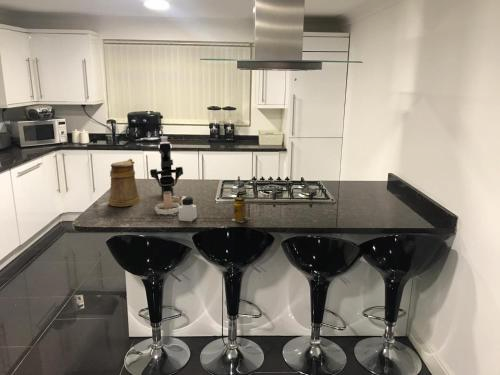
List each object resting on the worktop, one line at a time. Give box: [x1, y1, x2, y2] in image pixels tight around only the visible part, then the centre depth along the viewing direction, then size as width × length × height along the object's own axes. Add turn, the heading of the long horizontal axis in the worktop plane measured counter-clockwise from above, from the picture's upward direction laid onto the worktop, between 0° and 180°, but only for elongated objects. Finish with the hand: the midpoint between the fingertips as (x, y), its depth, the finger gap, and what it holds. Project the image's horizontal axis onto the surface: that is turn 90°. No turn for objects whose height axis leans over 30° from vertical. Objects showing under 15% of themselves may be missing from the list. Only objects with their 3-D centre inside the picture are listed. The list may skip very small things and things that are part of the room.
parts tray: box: [171, 195, 183, 205], centre depth 258 cm, size 10×8×3 cm
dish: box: [154, 202, 182, 215], centre depth 242 cm, size 13×13×3 cm
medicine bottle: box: [178, 196, 198, 223], centre depth 228 cm, size 7×7×12 cm
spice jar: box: [163, 191, 173, 210], centre depth 241 cm, size 4×4×11 cm
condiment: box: [231, 196, 252, 223], centre depth 227 cm, size 7×8×12 cm
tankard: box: [108, 158, 141, 207], centre depth 257 cm, size 18×24×25 cm
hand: (167, 185), depth 247 cm, fingers open, 9 cm apart
